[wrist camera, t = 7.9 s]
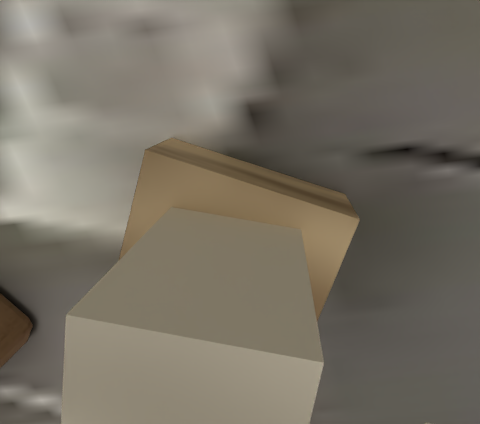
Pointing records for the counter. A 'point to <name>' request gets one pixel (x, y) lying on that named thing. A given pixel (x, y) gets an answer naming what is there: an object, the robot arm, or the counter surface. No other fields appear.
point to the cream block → (197, 329)
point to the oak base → (244, 203)
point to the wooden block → (12, 329)
